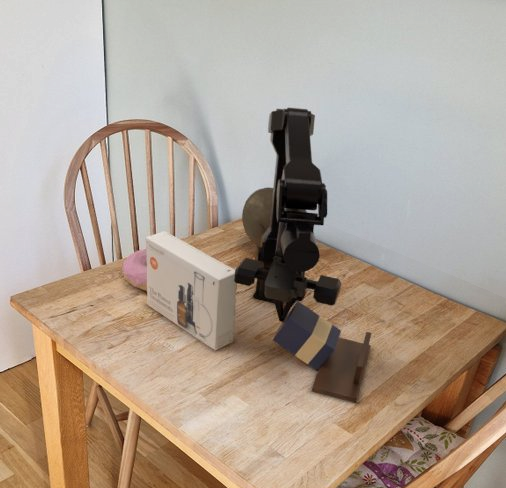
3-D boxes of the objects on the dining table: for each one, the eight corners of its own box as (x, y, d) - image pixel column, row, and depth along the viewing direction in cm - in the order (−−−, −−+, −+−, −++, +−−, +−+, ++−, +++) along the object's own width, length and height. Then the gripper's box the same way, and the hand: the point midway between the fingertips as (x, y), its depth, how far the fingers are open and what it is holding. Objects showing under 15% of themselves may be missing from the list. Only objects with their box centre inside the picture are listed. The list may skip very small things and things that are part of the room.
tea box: (272, 340, 114) (288, 318, 110) (281, 322, 120) (298, 300, 116) (316, 370, 114) (334, 349, 111) (323, 350, 120) (341, 330, 117)
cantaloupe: (304, 249, 158) (312, 194, 150) (264, 263, 150) (271, 205, 142) (266, 230, 167) (272, 176, 159) (227, 242, 158) (231, 185, 150)
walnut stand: (311, 391, 109) (315, 368, 106) (330, 339, 124) (334, 318, 121) (355, 403, 107) (361, 380, 105) (369, 349, 122) (374, 328, 119)
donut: (110, 288, 132) (110, 267, 130) (137, 259, 145) (137, 239, 142) (179, 302, 130) (180, 281, 127) (200, 271, 143) (201, 252, 140)
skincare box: (144, 306, 127) (144, 236, 119) (164, 298, 131) (166, 229, 123) (213, 352, 116) (219, 278, 107) (234, 342, 119) (241, 270, 111)
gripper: (227, 251, 102) (220, 330, 111) (336, 276, 99) (321, 355, 107) (247, 227, 111) (239, 301, 120) (348, 249, 108) (333, 324, 116)
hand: (281, 320), depth 115 cm, fingers closed
